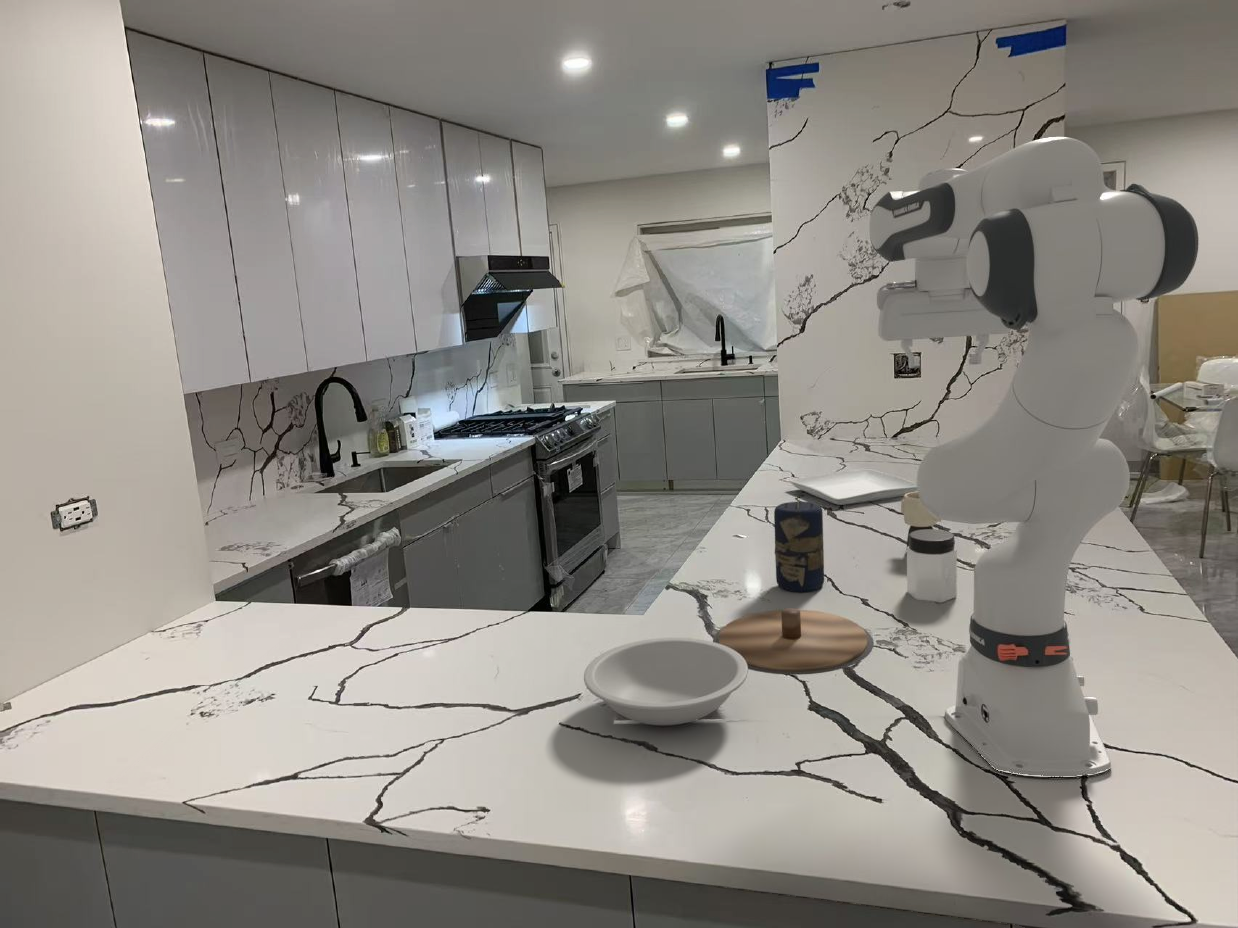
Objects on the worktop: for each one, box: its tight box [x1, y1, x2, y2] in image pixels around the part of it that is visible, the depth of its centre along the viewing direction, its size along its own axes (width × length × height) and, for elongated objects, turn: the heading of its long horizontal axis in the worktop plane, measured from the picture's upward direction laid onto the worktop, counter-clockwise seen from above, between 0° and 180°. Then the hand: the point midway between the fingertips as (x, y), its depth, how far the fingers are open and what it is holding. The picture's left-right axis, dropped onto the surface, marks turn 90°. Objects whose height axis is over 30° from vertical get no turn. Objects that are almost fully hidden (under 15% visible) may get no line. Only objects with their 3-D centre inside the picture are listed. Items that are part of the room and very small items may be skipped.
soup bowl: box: [583, 637, 749, 726], centre depth 130 cm, size 24×24×7 cm
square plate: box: [788, 468, 918, 506], centre depth 252 cm, size 27×27×4 cm
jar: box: [906, 528, 958, 604], centre depth 168 cm, size 9×8×12 cm
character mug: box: [900, 491, 942, 551], centre depth 194 cm, size 11×7×13 cm, turn 30°
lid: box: [718, 607, 867, 671], centre depth 151 cm, size 25×25×5 cm
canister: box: [773, 500, 825, 593], centre depth 177 cm, size 10×10×18 cm
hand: (944, 366), depth 142 cm, fingers open, 8 cm apart
